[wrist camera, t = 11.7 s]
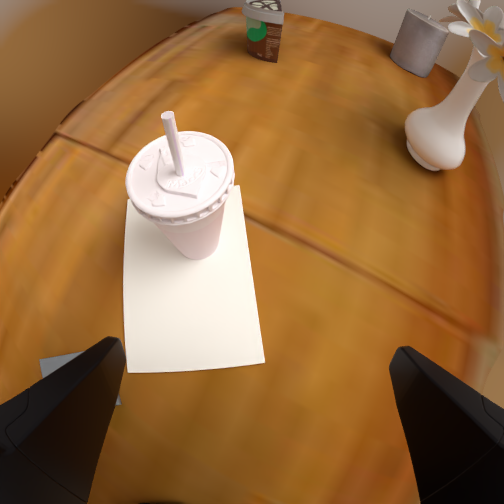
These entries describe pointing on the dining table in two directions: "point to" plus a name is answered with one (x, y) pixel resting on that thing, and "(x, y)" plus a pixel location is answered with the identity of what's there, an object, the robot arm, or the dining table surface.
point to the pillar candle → (418, 43)
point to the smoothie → (183, 187)
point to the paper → (189, 299)
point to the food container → (263, 28)
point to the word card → (56, 362)
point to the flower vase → (459, 89)
